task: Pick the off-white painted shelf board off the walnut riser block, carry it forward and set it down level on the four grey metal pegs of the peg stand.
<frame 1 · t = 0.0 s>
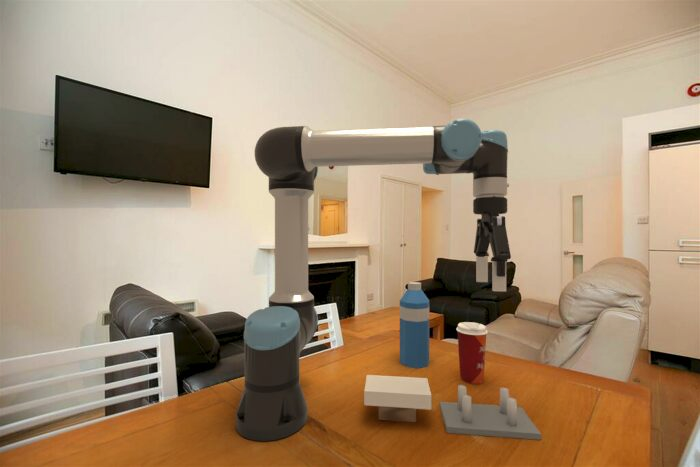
hand: (489, 286, 78), 28 cm above the table, fingers open, 13 cm apart
shelf board: (397, 397, 72), point 4 cm above the table, touching riser block
riser block: (397, 415, 72), on the table
water bottle: (414, 362, 102), on the table
peg stand: (486, 421, 70), on the table
coffee cup: (471, 379, 91), on the table
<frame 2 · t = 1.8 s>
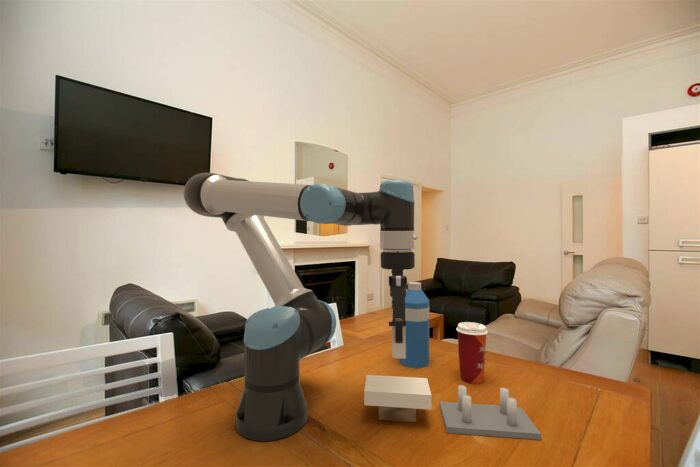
hand: (398, 346, 72), 16 cm above the table, fingers open, 13 cm apart
nothing on the table moved.
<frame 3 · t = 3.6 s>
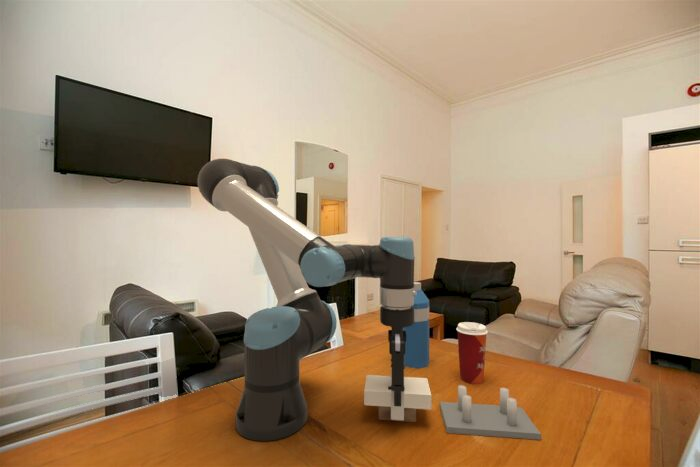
hand: (397, 407, 72), 2 cm above the table, fingers closed on shelf board, 8 cm apart
shelf board: (397, 397, 72), point 4 cm above the table, touching gripper, riser block
everything else where it was.
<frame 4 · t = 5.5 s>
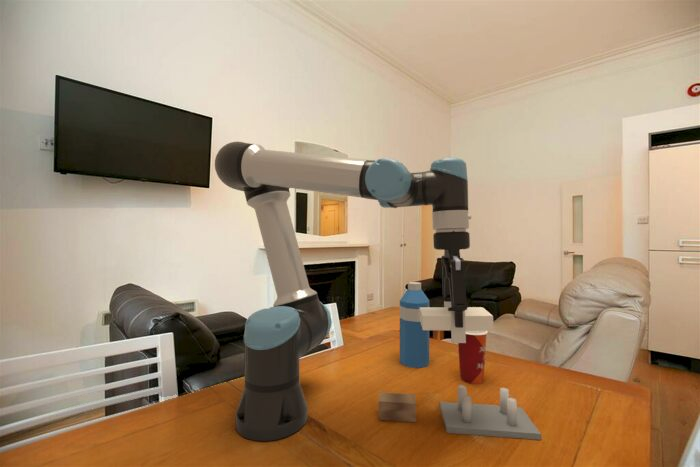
hand: (454, 335, 70), 18 cm above the table, fingers closed on shelf board, 8 cm apart
shelf board: (454, 325, 71), point 21 cm above the table, touching gripper
everything else where it was.
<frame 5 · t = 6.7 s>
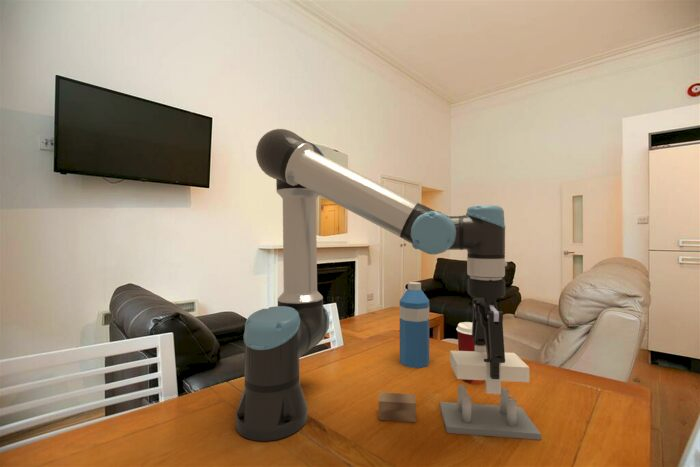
hand: (487, 383, 70), 8 cm above the table, fingers closed on shelf board, 8 cm apart
shelf board: (487, 372, 70), point 11 cm above the table, touching gripper
everything else where it was.
when the fingers open (5 cm above the table, at t = 7.7 s): shelf board drops 1 cm, resting on peg stand.
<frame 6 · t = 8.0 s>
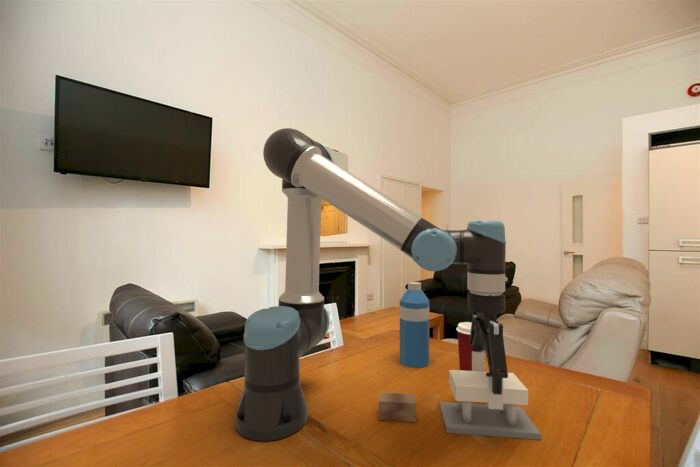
hand: (486, 392, 70), 6 cm above the table, fingers open, 12 cm apart
shelf board: (485, 393, 70), point 6 cm above the table, touching peg stand
everything else where it was.
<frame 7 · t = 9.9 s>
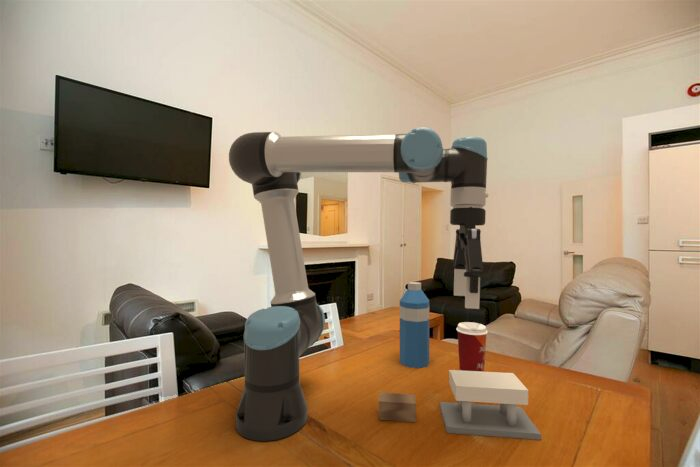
hand: (465, 301, 74), 25 cm above the table, fingers open, 13 cm apart
nothing on the table moved.
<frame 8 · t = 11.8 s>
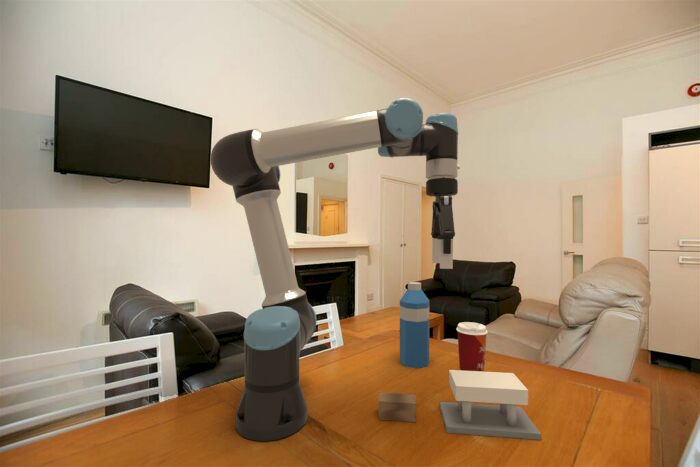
hand: (441, 265, 80), 33 cm above the table, fingers open, 13 cm apart
nothing on the table moved.
at the end: shelf board 0.0 cm off-centre on the peg stand, point 6.2 cm above the peg stand's base; shelf board tilted 0°; the gripper is holding nothing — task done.
